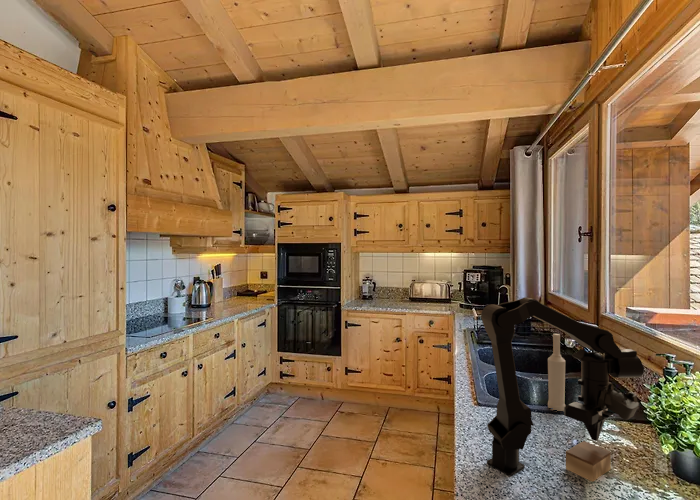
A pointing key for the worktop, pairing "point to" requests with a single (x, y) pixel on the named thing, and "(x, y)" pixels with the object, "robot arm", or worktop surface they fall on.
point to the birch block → (588, 460)
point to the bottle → (556, 377)
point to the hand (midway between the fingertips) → (594, 440)
